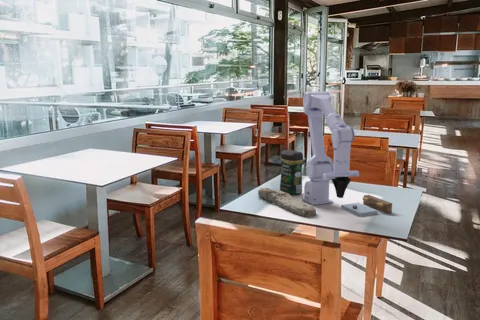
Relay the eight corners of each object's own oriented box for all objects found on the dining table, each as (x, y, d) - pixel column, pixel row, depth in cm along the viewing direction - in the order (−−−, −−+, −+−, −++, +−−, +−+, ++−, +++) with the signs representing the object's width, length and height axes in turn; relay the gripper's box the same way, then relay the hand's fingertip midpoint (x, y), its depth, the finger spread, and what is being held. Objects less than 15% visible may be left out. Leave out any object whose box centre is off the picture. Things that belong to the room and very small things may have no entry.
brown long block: (383, 213, 159) (383, 204, 158) (360, 204, 170) (360, 195, 170) (391, 212, 160) (392, 203, 160) (368, 203, 172) (368, 194, 171)
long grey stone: (300, 223, 154) (322, 220, 158) (302, 209, 152) (324, 206, 157) (250, 194, 183) (270, 192, 188) (251, 182, 182) (271, 181, 187)
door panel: (359, 218, 156) (360, 210, 155) (341, 209, 166) (341, 202, 165) (377, 215, 159) (377, 207, 159) (358, 207, 169) (358, 200, 168)
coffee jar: (276, 191, 189) (277, 149, 186) (290, 188, 194) (291, 147, 190) (291, 196, 181) (292, 152, 178) (305, 193, 186) (306, 151, 182)
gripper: (331, 164, 149) (329, 202, 151) (365, 160, 154) (363, 197, 157) (319, 160, 155) (318, 197, 157) (352, 157, 161) (351, 193, 163)
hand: (340, 197), depth 158 cm, fingers closed
